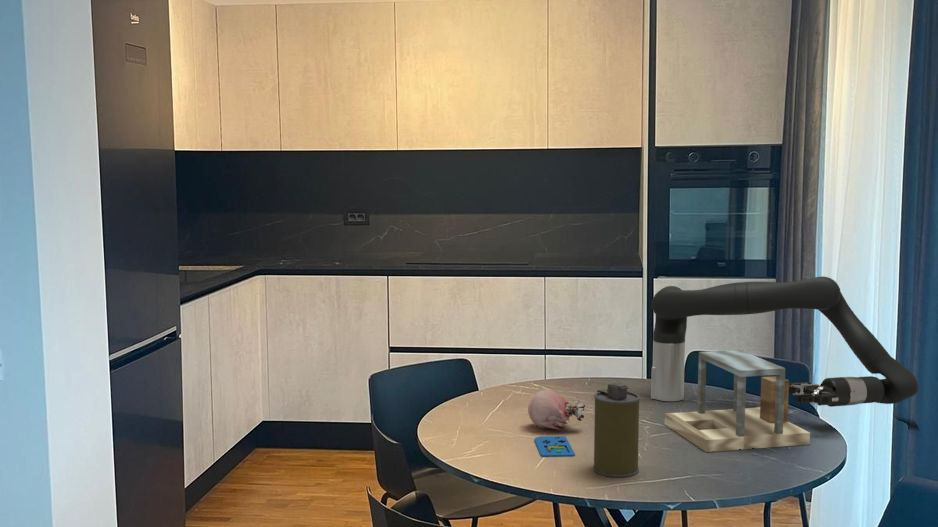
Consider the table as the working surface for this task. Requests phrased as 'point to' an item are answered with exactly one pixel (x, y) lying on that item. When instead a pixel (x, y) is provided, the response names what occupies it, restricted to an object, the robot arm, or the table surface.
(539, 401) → the toy
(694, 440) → the tunnel deck
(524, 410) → the table surface
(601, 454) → the canister
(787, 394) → the walnut block
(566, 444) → the handheld gaming device
